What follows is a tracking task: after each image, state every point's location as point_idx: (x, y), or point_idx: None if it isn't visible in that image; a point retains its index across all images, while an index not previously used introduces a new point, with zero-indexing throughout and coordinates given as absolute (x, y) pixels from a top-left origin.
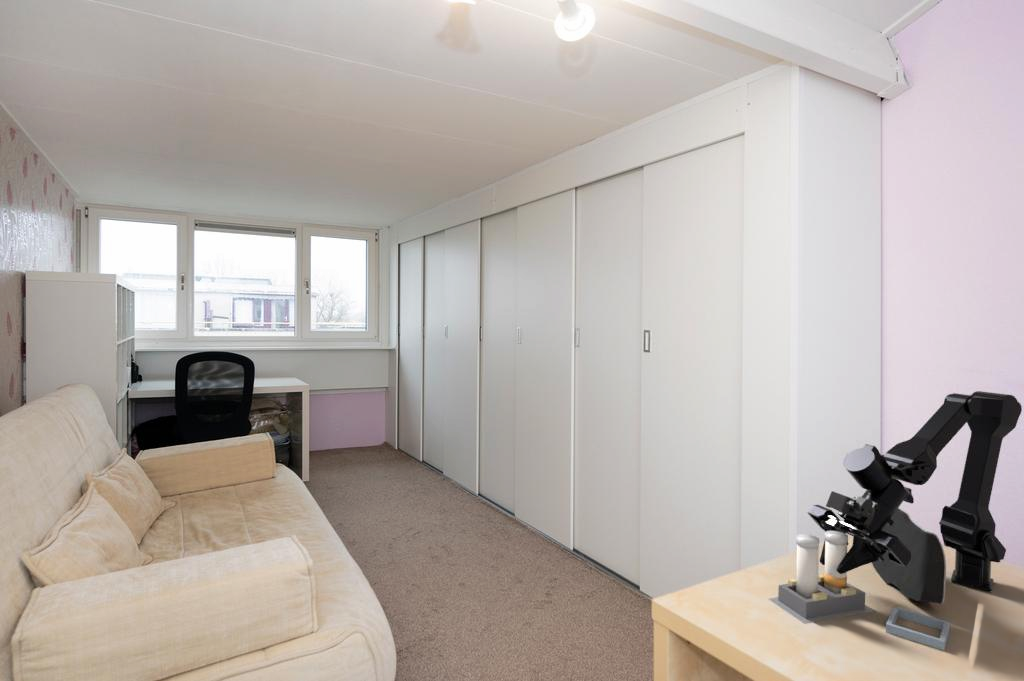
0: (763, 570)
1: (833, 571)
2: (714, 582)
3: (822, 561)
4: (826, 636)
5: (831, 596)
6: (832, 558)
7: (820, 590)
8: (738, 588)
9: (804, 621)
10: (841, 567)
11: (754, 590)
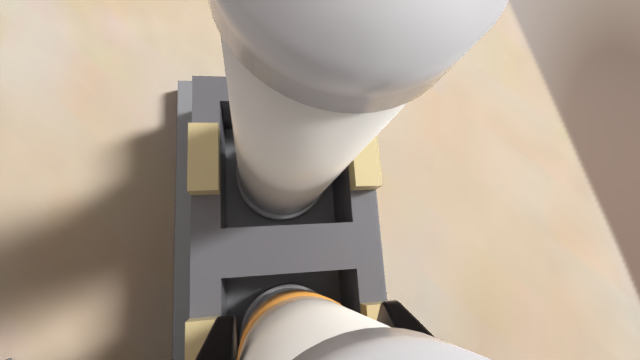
0: (589, 249)
1: (268, 314)
2: (513, 24)
3: (385, 316)
4: (106, 121)
5: (206, 237)
6: (281, 322)
7: (276, 231)
8: (468, 68)
9: (187, 89)
10: (203, 348)
11: (448, 109)
